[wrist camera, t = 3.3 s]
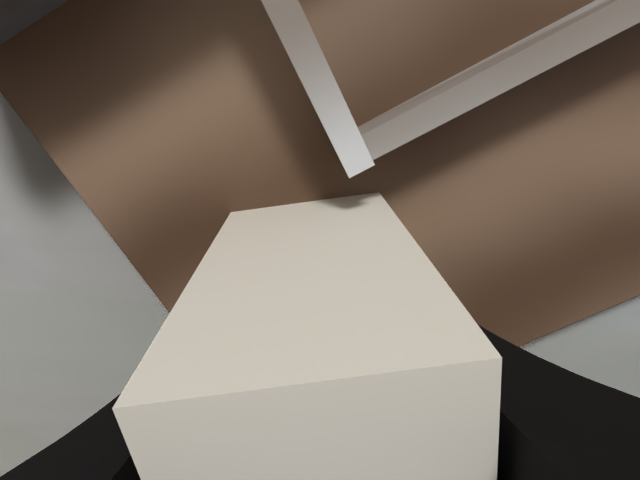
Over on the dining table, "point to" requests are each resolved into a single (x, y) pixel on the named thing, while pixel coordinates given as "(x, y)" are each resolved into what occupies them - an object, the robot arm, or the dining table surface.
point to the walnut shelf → (353, 131)
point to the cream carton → (315, 358)
